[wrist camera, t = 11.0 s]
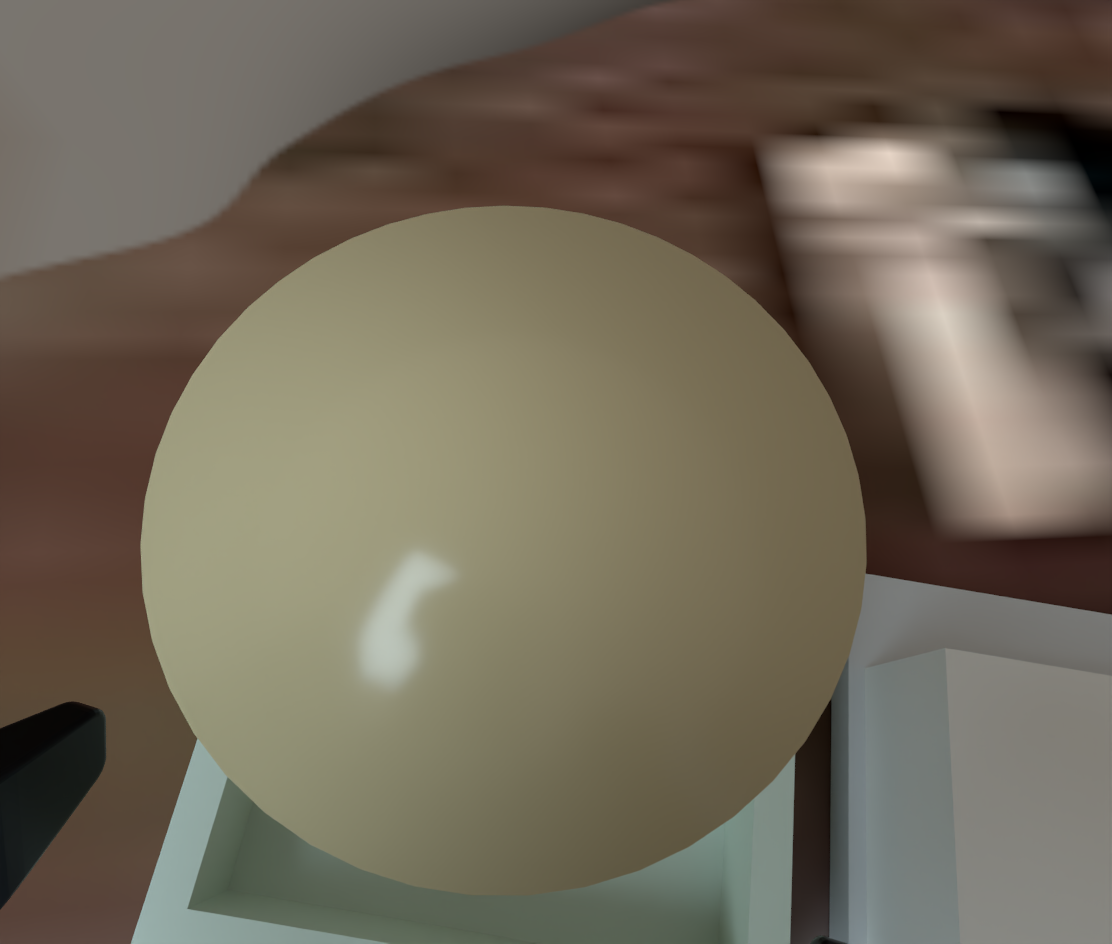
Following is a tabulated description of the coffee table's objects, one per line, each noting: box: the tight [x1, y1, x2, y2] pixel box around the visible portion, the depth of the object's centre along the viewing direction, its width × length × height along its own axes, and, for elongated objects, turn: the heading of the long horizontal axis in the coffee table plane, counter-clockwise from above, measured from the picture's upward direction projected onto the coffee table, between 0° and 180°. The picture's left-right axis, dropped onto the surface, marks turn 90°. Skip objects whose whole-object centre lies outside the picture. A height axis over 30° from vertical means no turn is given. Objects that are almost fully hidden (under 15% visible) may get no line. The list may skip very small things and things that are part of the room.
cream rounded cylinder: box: [141, 206, 867, 895], centre depth 11 cm, size 5×5×13 cm
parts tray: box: [131, 739, 795, 944], centre depth 16 cm, size 12×12×3 cm
